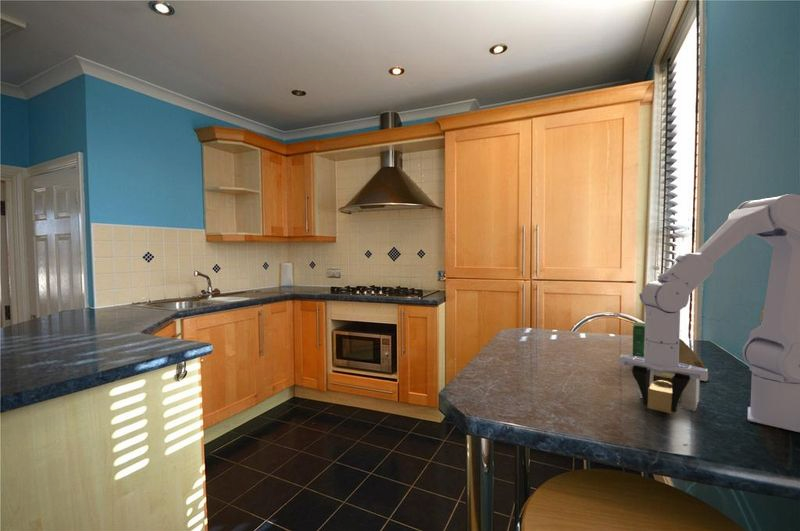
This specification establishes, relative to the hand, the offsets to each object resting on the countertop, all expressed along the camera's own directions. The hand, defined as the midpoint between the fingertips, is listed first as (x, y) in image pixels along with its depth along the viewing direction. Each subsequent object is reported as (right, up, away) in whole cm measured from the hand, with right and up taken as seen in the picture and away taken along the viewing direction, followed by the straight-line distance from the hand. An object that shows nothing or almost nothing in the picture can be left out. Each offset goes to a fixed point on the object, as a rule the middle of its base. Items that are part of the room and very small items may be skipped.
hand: (659, 407), depth 76 cm
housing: (+8, -2, +9) cm, 12 cm away
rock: (+24, -1, +25) cm, 34 cm away
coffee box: (+16, -1, +31) cm, 35 cm away
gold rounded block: (+3, -2, +4) cm, 5 cm away
